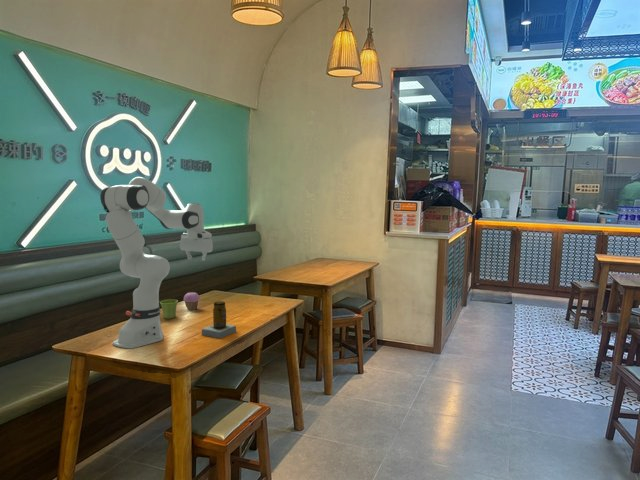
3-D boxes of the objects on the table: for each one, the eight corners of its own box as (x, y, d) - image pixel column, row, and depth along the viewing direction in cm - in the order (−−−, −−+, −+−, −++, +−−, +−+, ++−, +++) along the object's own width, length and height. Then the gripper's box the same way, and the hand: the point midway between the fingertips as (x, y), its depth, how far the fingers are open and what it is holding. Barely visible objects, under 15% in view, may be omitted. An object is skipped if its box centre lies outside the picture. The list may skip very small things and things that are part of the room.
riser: (219, 338, 215) (219, 332, 215) (201, 334, 220) (201, 328, 220) (236, 331, 226) (236, 325, 226) (218, 328, 231) (218, 322, 231)
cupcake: (202, 308, 268) (202, 291, 267) (191, 312, 261) (190, 294, 260) (192, 306, 273) (191, 290, 272) (180, 309, 266) (180, 292, 265)
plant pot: (157, 319, 246) (157, 303, 245) (163, 314, 255) (162, 299, 254) (175, 319, 246) (175, 303, 245) (180, 314, 256) (180, 299, 255)
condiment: (223, 323, 228) (222, 299, 227) (231, 327, 222) (231, 303, 220) (209, 326, 223) (208, 302, 222) (217, 330, 217) (217, 305, 216)
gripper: (176, 233, 248) (177, 259, 250) (205, 235, 238) (206, 262, 240) (185, 232, 253) (186, 257, 255) (214, 234, 244) (215, 260, 245)
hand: (196, 259), depth 247 cm, fingers open, 8 cm apart
